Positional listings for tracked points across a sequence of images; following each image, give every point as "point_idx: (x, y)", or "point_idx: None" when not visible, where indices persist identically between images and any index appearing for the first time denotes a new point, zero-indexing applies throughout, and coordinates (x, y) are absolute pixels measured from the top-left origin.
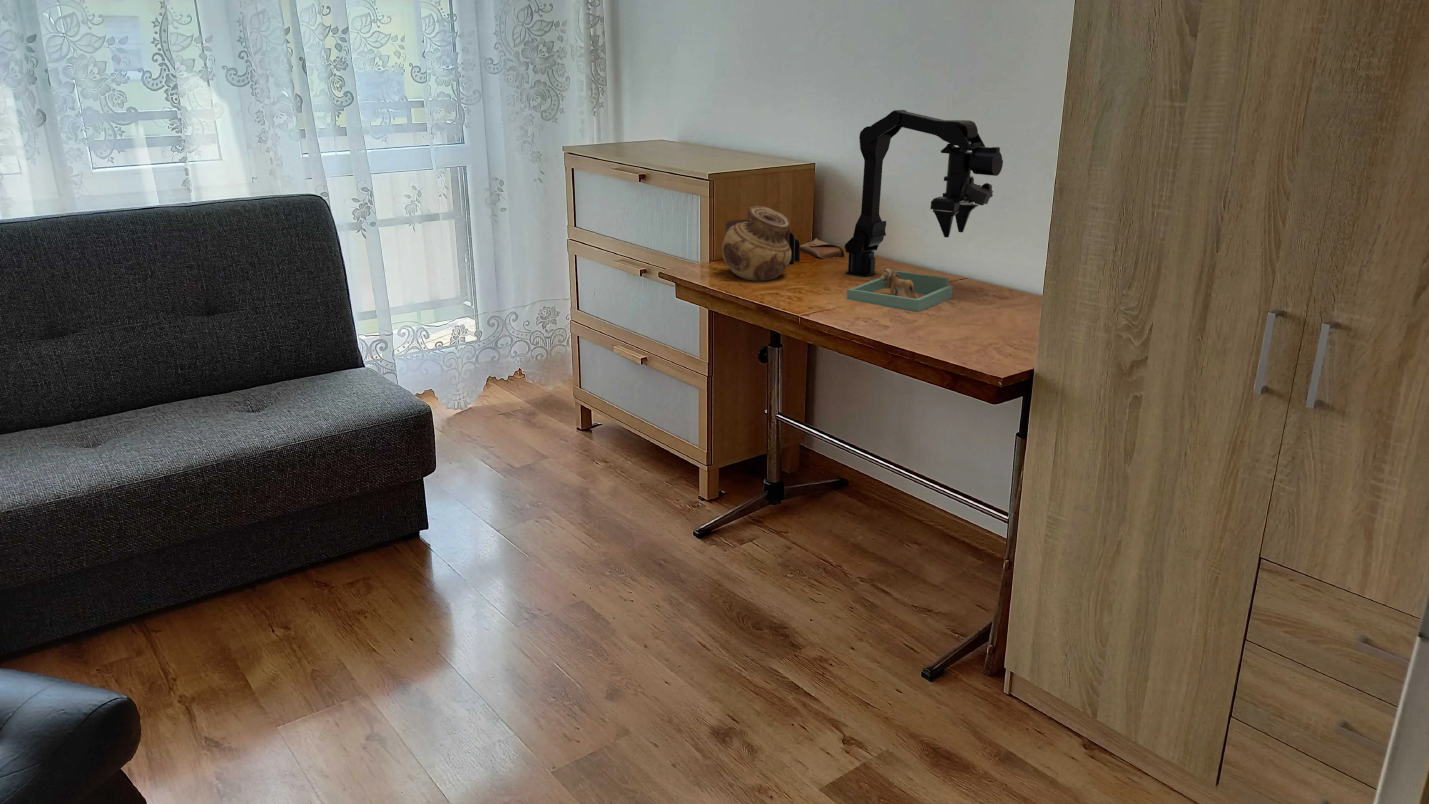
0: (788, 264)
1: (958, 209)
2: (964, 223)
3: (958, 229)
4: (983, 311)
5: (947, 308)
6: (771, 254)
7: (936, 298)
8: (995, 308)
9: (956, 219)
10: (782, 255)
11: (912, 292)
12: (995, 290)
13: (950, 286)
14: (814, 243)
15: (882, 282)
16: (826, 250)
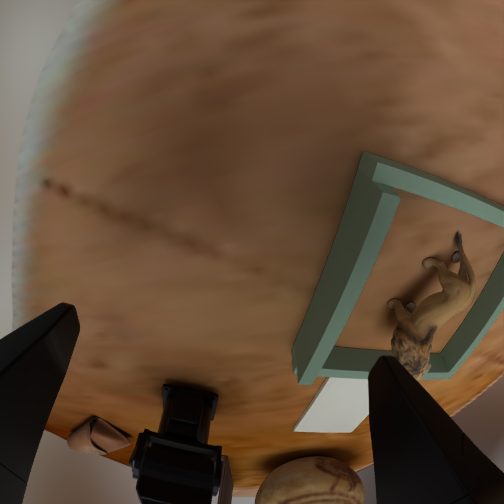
0: (224, 465)
1: (2, 490)
2: (28, 354)
3: (72, 345)
4: (492, 51)
5: (490, 152)
6: (355, 491)
7: (475, 195)
8: (450, 11)
9: (43, 424)
10: (338, 487)
11: (449, 270)
12: (162, 30)
13: (388, 170)
14: (98, 453)
15: (325, 361)
16: (108, 443)
